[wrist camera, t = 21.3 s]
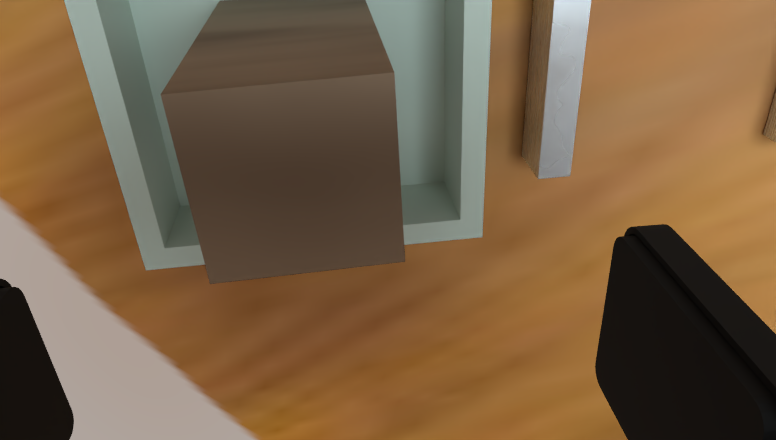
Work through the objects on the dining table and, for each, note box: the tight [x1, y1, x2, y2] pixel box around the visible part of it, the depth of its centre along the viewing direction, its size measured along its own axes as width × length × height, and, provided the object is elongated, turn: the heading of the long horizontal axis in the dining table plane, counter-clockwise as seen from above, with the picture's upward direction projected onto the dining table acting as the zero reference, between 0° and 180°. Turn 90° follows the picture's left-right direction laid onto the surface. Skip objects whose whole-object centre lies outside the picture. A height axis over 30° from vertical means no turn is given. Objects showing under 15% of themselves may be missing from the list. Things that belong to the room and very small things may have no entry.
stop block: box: [160, 0, 405, 284], centre depth 17 cm, size 4×4×9 cm
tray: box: [64, 0, 492, 270], centre depth 20 cm, size 12×12×4 cm
